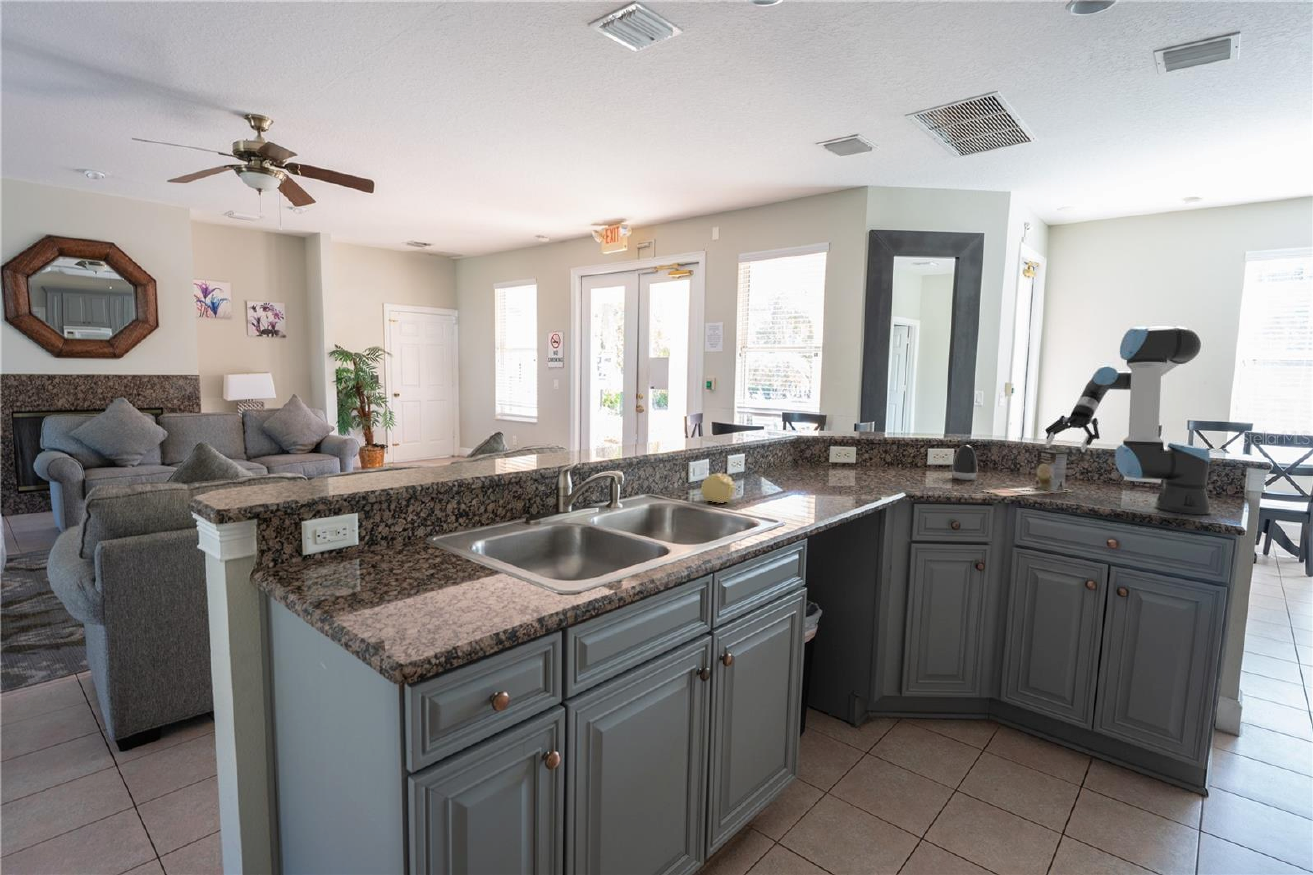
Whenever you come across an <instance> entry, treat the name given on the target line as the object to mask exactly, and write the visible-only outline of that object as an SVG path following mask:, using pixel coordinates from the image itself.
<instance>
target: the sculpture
mask: <svg viewBox="0 0 1313 875" xmlns="http://www.w3.org/2000/svg"><path fill="white" fill-rule="evenodd" d="M734 482H735V481H733V478H732V477H730V476H728V474H727V473H722V472H721V473H720V472H716V473H713V474H710V475H708V476H706V477H705V478H704V480H703V482H702V484H701V489H700V490H701V491H700V492H701V496H702V499H703V500H704V499H706V500H709V501H713V502H723V503H724V502H727V503H729V502H730V501H731V500H732V499H733V497H734V495H735V490H736V488H735V483H734ZM713 502H712V503H713Z"/></svg>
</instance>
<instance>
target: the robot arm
mask: <svg viewBox="0 0 1313 875" xmlns="http://www.w3.org/2000/svg"><path fill="white" fill-rule="evenodd" d="M1201 347H1202V343H1201V339H1200V338H1199V336H1198V334H1197V333H1196V332H1194V331H1193V330H1192V329H1189V328H1187V327H1183V326H1153V325H1152V326H1150V325H1149V326H1134V327H1131V328H1130V329H1128V330H1127V331H1126V333H1125V334H1124V335H1123V337H1122V339H1121V343H1120V347H1119V355H1120V358H1121V359H1122V360H1124V361H1126V367H1128V369H1130V370H1131V371H1128V370H1125V371H1122V370H1119V371H1118V370H1117V369H1116V368H1115V367H1112V366H1110V365H1105V366H1104V365H1103V366H1101V367H1099V368H1098V369H1097V370H1096V371H1095V372H1094V373H1093V375H1092V377H1091V379H1090V380H1089V381H1088V382H1087V383H1086V385H1085V387H1084V389H1083V391H1082V393H1081V395H1080V397H1079V399H1078V400H1077V402H1076V404H1075V406H1074V407H1073V409H1072V411H1071V413H1070V416H1069V417H1067V416H1065V415H1061V416H1060V417H1059V419H1057V420H1056V421H1055V422H1053V423H1051V424H1050V425H1049V426H1048V427H1047V428H1045V429H1044V430H1045V433H1046V434H1047V436H1046V437H1045V439H1046V441H1045V443H1044V446H1045V447H1046V448H1047V449H1050V447H1051V445H1052V443H1053V441H1054V440H1055V438H1056V437H1055V435H1057V434H1060V433H1061V432H1063V431H1066V430H1069V429H1071V428H1072V429H1075V428H1076V429H1082V428H1083V430H1084V431H1085V433H1086V434H1087V435H1086V436H1085V437H1084V439H1083V442H1082V443H1081V446H1080V450H1081V453H1085V451H1086V450H1087V448H1088V446H1091V444H1092V443H1093V441H1094V440H1100V438H1101V437H1100V433H1099V428H1098V425H1099V421H1098V419H1097V417H1094V418H1093V416H1094V415H1095V413H1096V412H1097V410H1098V407H1099V406H1100V403H1101V401H1102V400H1103V398H1104V396H1106V394H1107V392H1108V391H1109V390H1119V391H1120V390H1124V391H1126V390H1127V391H1128V390H1129V391H1130V397H1129V417H1128V420H1129V421H1128V436H1127V437H1125V438H1124V439H1123V440H1122V444H1121V445H1118V446H1117V447H1116V449H1115V450H1116V451H1115V455H1114V456H1115V465H1116V467H1117V470H1118V472H1119V474H1121V475H1122V477H1125V478H1127V479H1128V478H1131V479H1137V480H1141V479H1143V480H1144V479H1145V480H1164V482H1163V483H1164V484H1163V487H1162V489H1161V491H1160V493H1159V495H1158V496H1157V498H1156V500H1155V508H1156V509H1160V510H1164V511H1168V512H1173V513H1178V514H1188V515H1209V514H1210V513H1211V504H1210V501H1209V497H1208V494H1207V483H1208V475H1209V469H1210V463H1211V461H1210V458H1211V457H1210V456H1211V455H1210V451H1209V450H1208V449H1207V448H1203V447H1200V446H1195V445H1189V444H1182V443H1178V442H1169V443H1168V444H1167V446H1164V445H1165V442H1164V440H1163V439H1161V438H1160V437H1159V432H1160V430H1159V429H1160V409H1161V408H1160V407H1161V388H1162V387H1161V386H1162V385H1161V384H1162V380H1161V379H1162V377H1163V376H1164V375H1166V374H1167V373H1168V372H1170V371H1172V370H1173V369H1175V368H1176V367H1177V366H1179V365H1185V364H1187V363H1189V362H1191V361H1192V360H1193V359H1194V358H1196V357H1197V356H1198V354H1199V353H1200V350H1201ZM1089 424H1091V425H1092V427H1093V432H1092V431H1091V430H1090V428H1089V427H1088V425H1089ZM1093 433H1094V434H1093Z"/></svg>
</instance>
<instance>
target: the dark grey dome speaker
mask: <svg viewBox="0 0 1313 875" xmlns="http://www.w3.org/2000/svg"><path fill="white" fill-rule="evenodd" d="M978 470H979V468H978V461H977V456H976V453H975V449H974V448H973V447H972V446H971V445H969V444H963V445H961V446H960V447H959V449H958V450H956V453H955V456H954V459H953V463H952V467H951V471H952V474H953V476H954V477H955V478H956V479H958V480H961V481H970V480H973V479H975V477H976V476H977V474H978Z"/></svg>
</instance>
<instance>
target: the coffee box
mask: <svg viewBox="0 0 1313 875" xmlns="http://www.w3.org/2000/svg"><path fill="white" fill-rule="evenodd" d="M1036 455H1037V456H1036V457H1037V458H1036V468H1035V481H1034V486H1035V488H1034V489H1036V488H1037V489H1038V490H1043V491H1044V490H1047V492H1048V491H1050V492H1059V491H1065V490H1064V489H1065V484H1066V483H1065V482H1066V472H1067V462H1068V456H1069V455H1068V452H1064V451H1059V450H1055V449H1050V448H1048V449H1037V454H1036Z"/></svg>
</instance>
